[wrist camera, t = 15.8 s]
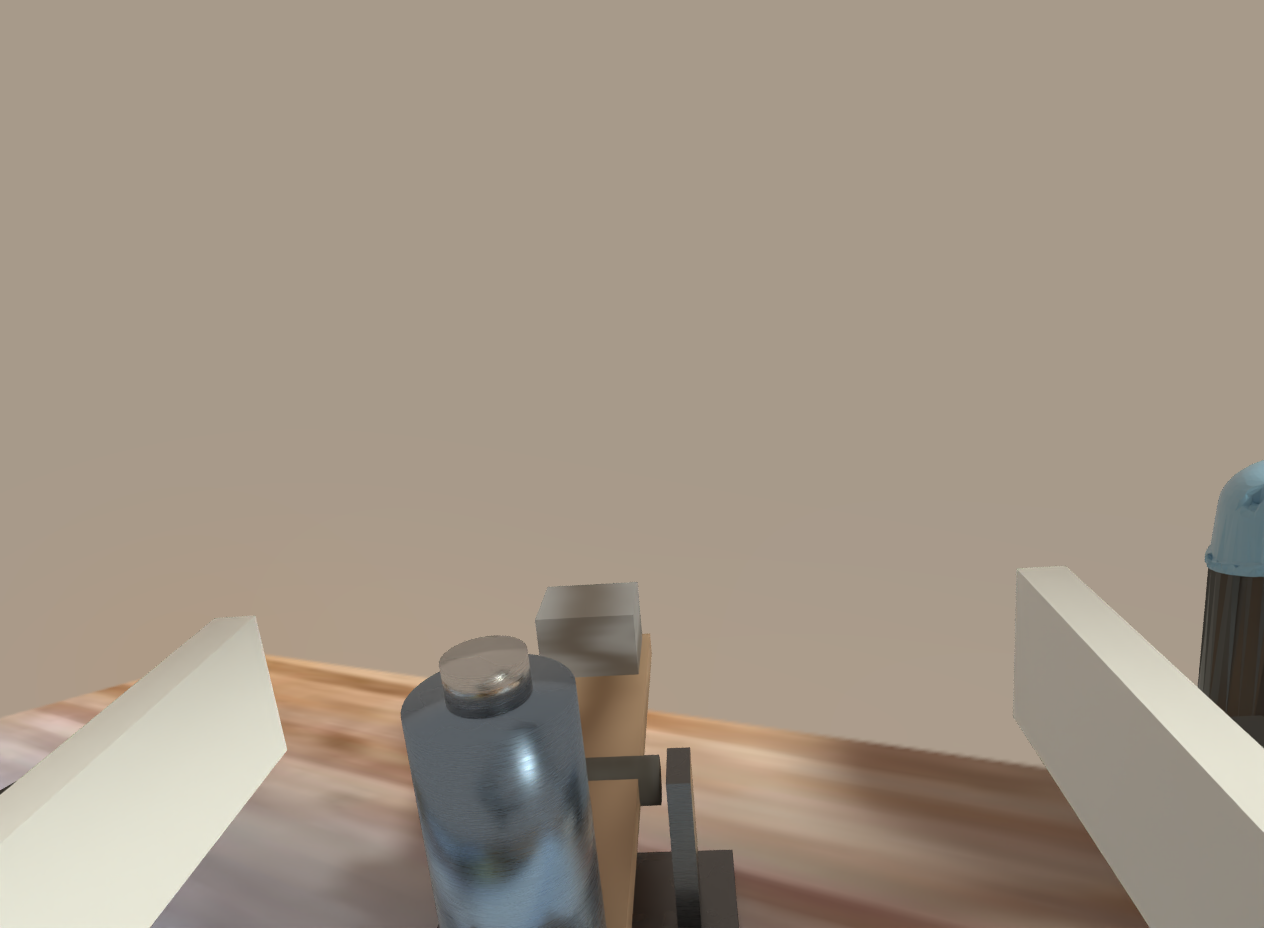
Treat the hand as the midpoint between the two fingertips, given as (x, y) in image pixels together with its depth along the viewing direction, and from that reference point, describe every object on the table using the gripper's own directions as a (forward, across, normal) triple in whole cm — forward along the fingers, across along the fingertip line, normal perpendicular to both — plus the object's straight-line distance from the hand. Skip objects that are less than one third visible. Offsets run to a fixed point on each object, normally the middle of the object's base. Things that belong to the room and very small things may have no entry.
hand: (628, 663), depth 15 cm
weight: (+12, -7, -19) cm, 23 cm away
